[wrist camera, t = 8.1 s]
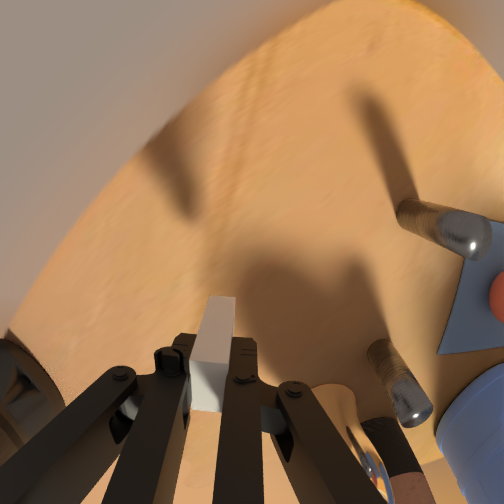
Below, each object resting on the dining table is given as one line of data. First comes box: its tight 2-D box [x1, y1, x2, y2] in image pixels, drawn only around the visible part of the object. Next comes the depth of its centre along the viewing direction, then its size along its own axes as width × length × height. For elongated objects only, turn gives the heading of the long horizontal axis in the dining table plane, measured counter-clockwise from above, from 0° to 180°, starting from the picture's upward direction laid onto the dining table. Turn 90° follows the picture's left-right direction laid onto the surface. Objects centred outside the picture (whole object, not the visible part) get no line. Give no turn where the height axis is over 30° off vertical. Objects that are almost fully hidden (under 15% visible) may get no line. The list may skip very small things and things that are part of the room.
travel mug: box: [361, 418, 436, 504], centre depth 19 cm, size 8×8×20 cm
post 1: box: [367, 339, 433, 428], centre depth 21 cm, size 3×3×9 cm
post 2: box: [397, 198, 493, 261], centre depth 17 cm, size 3×3×9 cm
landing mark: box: [437, 220, 504, 355], centre depth 23 cm, size 14×14×1 cm
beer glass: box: [311, 384, 396, 504], centre depth 20 cm, size 7×7×15 cm
